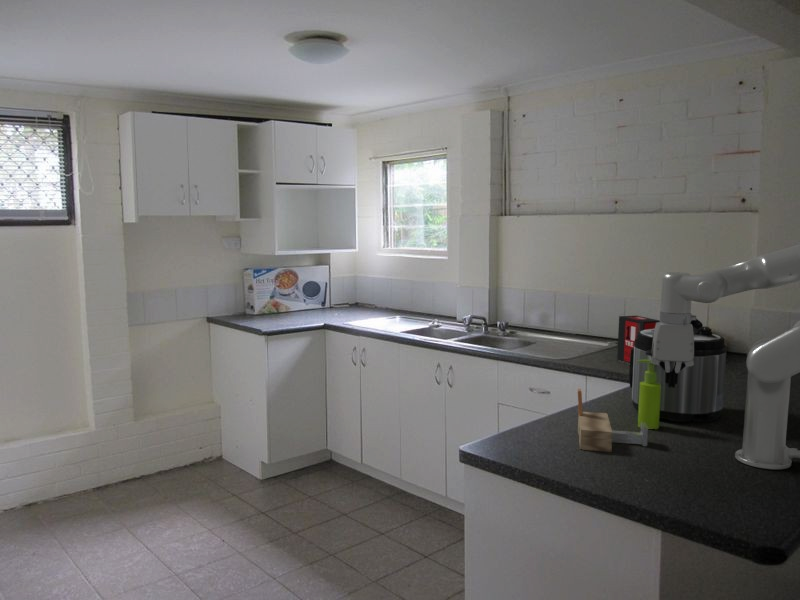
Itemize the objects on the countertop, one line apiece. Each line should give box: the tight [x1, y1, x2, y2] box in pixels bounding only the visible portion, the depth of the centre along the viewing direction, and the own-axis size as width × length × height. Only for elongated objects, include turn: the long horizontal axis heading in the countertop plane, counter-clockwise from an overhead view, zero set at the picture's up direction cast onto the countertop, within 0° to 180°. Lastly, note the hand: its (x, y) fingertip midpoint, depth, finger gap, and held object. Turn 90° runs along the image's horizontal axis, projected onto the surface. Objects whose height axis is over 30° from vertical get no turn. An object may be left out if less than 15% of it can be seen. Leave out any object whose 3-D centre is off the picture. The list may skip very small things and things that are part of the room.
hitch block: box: [577, 411, 613, 453], centre depth 186 cm, size 8×18×5 cm, turn 167°
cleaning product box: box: [616, 315, 660, 363], centre depth 285 cm, size 16×9×20 cm, turn 17°
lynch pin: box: [612, 422, 649, 447], centre depth 184 cm, size 16×5×5 cm, turn 77°
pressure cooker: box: [628, 318, 727, 423], centre depth 212 cm, size 30×28×32 cm
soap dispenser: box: [637, 359, 661, 430], centre depth 198 cm, size 6×7×20 cm
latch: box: [577, 388, 584, 415], centre depth 191 cm, size 7×3×1 cm
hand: (670, 386), depth 180 cm, fingers closed
